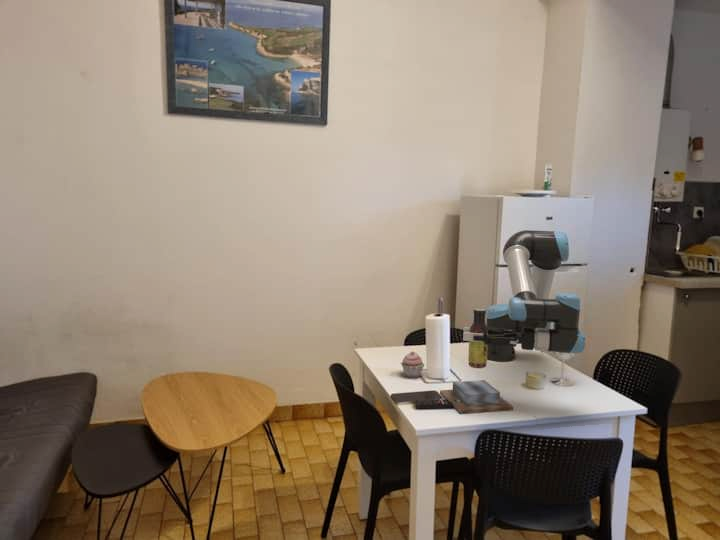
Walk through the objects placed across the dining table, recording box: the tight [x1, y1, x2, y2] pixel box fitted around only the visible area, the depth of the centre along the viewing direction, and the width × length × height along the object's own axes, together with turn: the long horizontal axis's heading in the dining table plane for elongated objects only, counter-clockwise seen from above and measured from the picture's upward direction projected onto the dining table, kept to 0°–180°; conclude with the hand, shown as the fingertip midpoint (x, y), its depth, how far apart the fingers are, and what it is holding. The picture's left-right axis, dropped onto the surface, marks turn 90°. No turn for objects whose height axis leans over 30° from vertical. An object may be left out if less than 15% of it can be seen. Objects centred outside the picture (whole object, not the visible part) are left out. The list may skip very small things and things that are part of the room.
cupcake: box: [400, 350, 425, 379], centre depth 203 cm, size 9×9×10 cm
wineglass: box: [551, 352, 576, 387], centre depth 198 cm, size 8×8×20 cm
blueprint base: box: [439, 379, 514, 415], centre depth 179 cm, size 19×18×5 cm
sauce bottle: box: [468, 307, 488, 369], centre depth 176 cm, size 6×6×20 cm
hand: (463, 333), depth 177 cm, fingers closed on sauce bottle, 6 cm apart
